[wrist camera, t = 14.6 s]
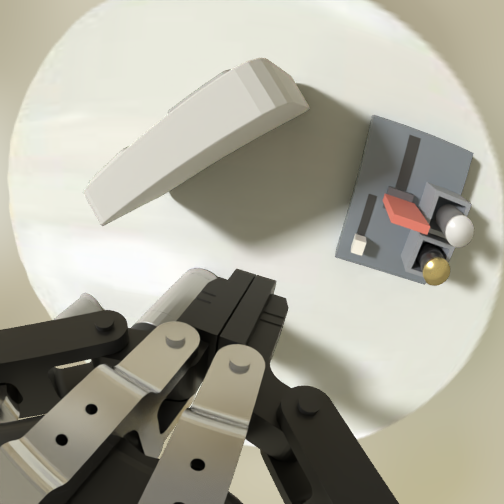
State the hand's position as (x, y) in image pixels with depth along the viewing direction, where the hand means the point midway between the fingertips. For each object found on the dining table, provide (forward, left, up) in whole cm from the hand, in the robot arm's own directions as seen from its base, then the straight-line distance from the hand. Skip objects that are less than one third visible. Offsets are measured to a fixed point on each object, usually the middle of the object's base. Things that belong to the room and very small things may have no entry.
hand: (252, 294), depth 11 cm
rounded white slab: (0, +16, -35) cm, 39 cm away
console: (-2, -12, -35) cm, 37 cm away
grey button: (-1, -17, -27) cm, 32 cm away
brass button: (-7, -17, -28) cm, 34 cm away
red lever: (-2, -11, -32) cm, 34 cm away
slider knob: (-9, -8, -32) cm, 34 cm away
